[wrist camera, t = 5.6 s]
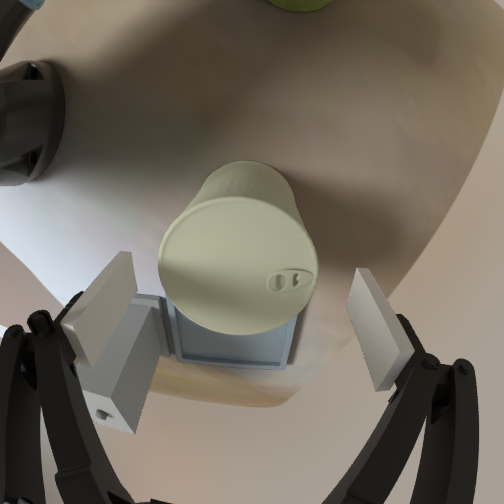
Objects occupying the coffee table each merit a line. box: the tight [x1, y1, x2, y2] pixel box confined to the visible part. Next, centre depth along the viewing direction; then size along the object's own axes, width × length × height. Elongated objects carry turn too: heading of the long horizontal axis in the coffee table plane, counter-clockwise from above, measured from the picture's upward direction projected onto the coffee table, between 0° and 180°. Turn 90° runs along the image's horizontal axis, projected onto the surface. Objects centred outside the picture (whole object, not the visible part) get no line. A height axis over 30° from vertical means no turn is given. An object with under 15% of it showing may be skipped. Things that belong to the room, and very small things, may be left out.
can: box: [158, 161, 319, 335], centre depth 20 cm, size 9×9×12 cm
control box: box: [76, 294, 171, 434], centre depth 26 cm, size 10×7×15 cm
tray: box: [165, 292, 297, 370], centre depth 31 cm, size 15×15×1 cm
